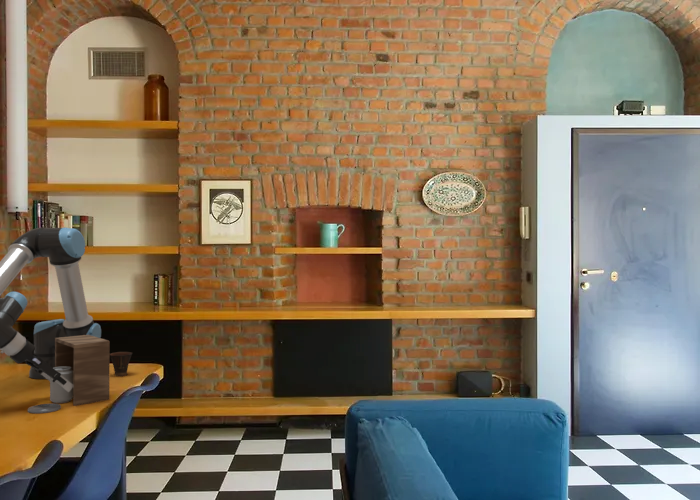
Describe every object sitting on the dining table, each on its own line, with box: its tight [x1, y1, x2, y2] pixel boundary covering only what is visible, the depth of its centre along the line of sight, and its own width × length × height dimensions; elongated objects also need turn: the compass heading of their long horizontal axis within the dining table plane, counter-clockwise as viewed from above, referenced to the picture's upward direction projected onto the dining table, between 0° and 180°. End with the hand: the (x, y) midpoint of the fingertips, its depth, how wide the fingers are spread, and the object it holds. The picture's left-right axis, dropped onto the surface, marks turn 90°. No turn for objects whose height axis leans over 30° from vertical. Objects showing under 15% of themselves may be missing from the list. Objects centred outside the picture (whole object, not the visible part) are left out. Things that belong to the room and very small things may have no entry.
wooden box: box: [55, 335, 111, 407], centre depth 220 cm, size 19×12×21 cm, turn 45°
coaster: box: [27, 403, 62, 415], centre depth 204 cm, size 10×10×1 cm
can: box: [49, 366, 73, 404], centre depth 215 cm, size 8×8×12 cm
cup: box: [110, 351, 133, 377], centre depth 256 cm, size 9×9×10 cm
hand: (64, 385), depth 215 cm, fingers open, 13 cm apart
